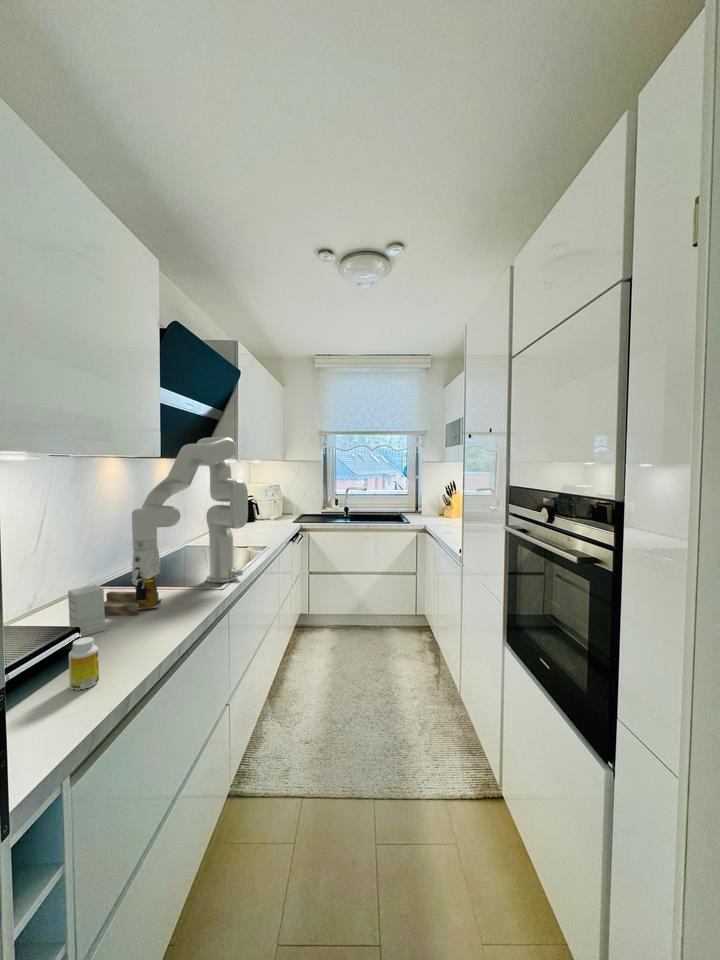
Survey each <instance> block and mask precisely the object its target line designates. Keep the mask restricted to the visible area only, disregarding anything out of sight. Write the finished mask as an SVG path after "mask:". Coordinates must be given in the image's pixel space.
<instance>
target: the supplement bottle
mask: <svg viewBox="0 0 720 960" xmlns="http://www.w3.org/2000/svg"><path fill="white" fill-rule="evenodd" d="M68 672H69V673H68V674H69V675H68V676H69V687H70V689H71V688H72V690H73V689H75V690H74V691H81V690H80V689H84V690H86V689H85V688H88V689H90V688H92V687H94V686H95V685H97V684H98V682H99V681H100V674H99V673H100V668H99V648H98V646H97V645H96V644H95V642H94V637H91V636H90V637H89V636H85V637H80V638H77V639H76V640H74V641H73V642H72V649H71V650H70V651H69V653H68ZM96 683H97V684H96ZM93 685H94V686H93ZM91 686H92V687H91ZM89 687H90V688H89Z"/></svg>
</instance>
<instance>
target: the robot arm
mask: <svg viewBox="0 0 720 960" xmlns="http://www.w3.org/2000/svg"><path fill="white" fill-rule="evenodd" d="M236 453H237V444H236V442H235V441H234V440H233V439H232V438H231V437H226V436H225V437H223V436H222V437H220V436H219V437H203V438H201V439H199V440H197V442H196V443H188V444H187V443H186V444H185V445H183V446H182V447H181V449H180V450H179V452H178V453H177V456H176V458H175V460H174V462H173V464H172V467H171V468H170V471H169V472H168V473H167V476H166V477H165V478H164V479H162V481H160V482H159V483H158V484H156V486H155V487H154V488H152V490H151V491H150V492H149V493H148V495H147V496H146V498H145V500H144V502H143V504H142V506H141V507H140V508H135V509H133V510H132V512H131V530H132V533H131V534H132V536H131V537H132V551H133V554H132V563H131V564H132V568H131V569H132V571H131V573H132V578H131V583H132V584H133V587H134V589H135V592H136V600H146V588H145V582H146V580H148V579H150V578H152V577H153V576H155V578H156V579H157V580H158V575H159V574H160V572H161V561H160V559H161V558H160V550H159V547H158V528H170V527H171V528H172V527H173V526H176V525H177V524H178V523H179V522H180V519H181V513H180V511H179V509H178V508H176V507H175V506H171V505H164V504H165V502H166V501H167V500H168V499H169V498H171V497H172V496H173V495H175V494H178V493H179V492H182V491H184V490H185V489H186V490H187V489H188V488H189V487H191V485H192V482H193V480H194V477H195V475H196V474H197V471H198V469H199V467H208V469H209V494H210V498H211V499H212V500H213V501H215V502H221V503H224V502H225V503H230V505H229V504H214V505H212V506H210V507H209V508H208V509H207V512H206V514H205V515H206V518H205V519H206V523H207V528H208V536H209V539H208V540H209V575H207V576H206V579H205V580H206V581H207V582H208V583H212V584H221V583H228V582H229V583H230V582H232V581H235V580H237V579H238V576H241V577H242V576H244V571H243V569H239V570H238V569H237V567H236V566H234V535H233V532H232V530H233V529H234V530H236V529H238V530H239V529H242V528H244V527H245V526H246V525H247V522H248V518H249V490H248V487H247V485H246V483H245V482H244V480H241V479H236V478H233V479H232V468H231V463H230V461H229V459H231V458H233V457H234V455H235V454H236ZM231 529H232V530H231ZM139 577H142V579H139ZM139 581H142V584H141V583H140V582H139Z"/></svg>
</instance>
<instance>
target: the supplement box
mask: <svg viewBox="0 0 720 960" xmlns="http://www.w3.org/2000/svg"><path fill="white" fill-rule="evenodd" d="M67 594H68V596H67V597H68V618H69V628H70V627H80V628H81V637H80V638H84V637H87V636H90V635H93V634H96V633H100V632H103V631H106V615H105V614H104V604H105V594H104V588H102V587H99V586H98V585H96V584H92V585H88V586H83V587H78V588H73V589H69V590H67Z"/></svg>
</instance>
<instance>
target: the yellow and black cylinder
mask: <svg viewBox="0 0 720 960" xmlns="http://www.w3.org/2000/svg"><path fill="white" fill-rule="evenodd" d="M139 579H142V577H139ZM139 582H140V583H141V584H142V581H139ZM157 582H158V578H157V579H156V578H155V576H153V577H152V578H150V579H148V580H146V582H145V588H146V600H138V602H137V605H138V610H147V609H154V608H159V606H160V605H161V602H162V600H163V598H158V600H157V592H158V586H157V585H158V583H157Z"/></svg>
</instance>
